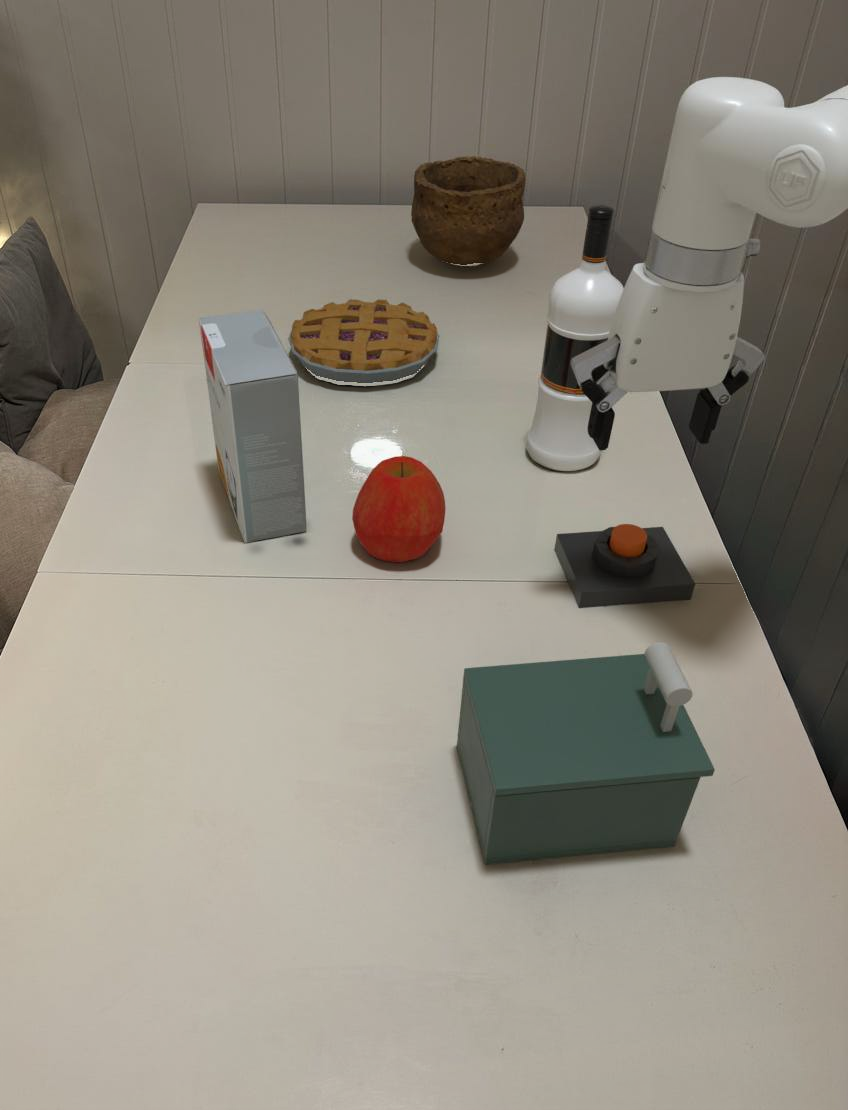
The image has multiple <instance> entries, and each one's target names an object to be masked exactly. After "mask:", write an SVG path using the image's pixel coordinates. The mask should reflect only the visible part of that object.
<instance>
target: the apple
mask: <svg viewBox="0 0 848 1110" xmlns="http://www.w3.org/2000/svg"><path fill="white" fill-rule="evenodd" d="M446 509H447V508H446V499H445V495H444V491H443V488H442V486H441V484H440V482H439V480H438V479H437V477H436V476H435V474H434V473H433V471H431V469H430V468H429V467H428V466H427V465H425V464H424V463H423V462H422V461H421V460H419V459H416V458H414V457H412V456H407V455H399V456H397V455H396V456H393V457H389V458H386V459H383V460H381V461H380V462H379V463H377V464H376V466H375V467H374V468H373V469H372V470H371V471H370V473H369V474H368V476H367V477H366V479H365V481H364V482H363V484H362V486H361V488H360V489H359V491H358V493H357V495H356V499H355V502H354V505H353V508H352V516H351V517H352V518H351V519H352V523H353V528H354V531H355V532H354V533H355V536H356V539H357V540H358V541H359V543H360V544H361V545H362V547H363V548H364V550H365V551H366V552H367V553H368V554H369V555H370V556H371V557H374V558H376V559H379V560H381V561H384V562H394V563H405V562H408V561H412V560H416V559H419V558H421V557H423V555H425V554H426V553H427V552H428V550H429V549H430V548H431V547H432V546H433V544H434V543H435V542H436V540H437V539H438V538H439V536H441V534H442V533H443V529H444V525H445V519H446V518H445V517H446Z"/></svg>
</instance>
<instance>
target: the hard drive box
mask: <svg viewBox="0 0 848 1110" xmlns="http://www.w3.org/2000/svg"><path fill="white" fill-rule="evenodd" d="M197 321H198V325H199V332H200V340H201V347H202V354H203V361H204V368H205V369H204V370H205V377H206V384H207V391H208V399H209V400H208V401H209V408H210V414H211V422H212V423H211V424H212V432H213V438H214V439H213V440H214V445H215V452H216V459H217V467H218V472H219V475H220V478H221V480H222V483H223V484H222V485H223V486H224V490H225V493H226V496H227V498H228V501H229V504H230V506H231V509H232V511H233V515H234V518H235V521H236V523H237V526H238V529H239V532H240V534H241V537H242V540H243V543H245V544H246V543H251V542H257V541H261V540H268V539H273V538H278V537H283V536H289V535H294V534H299V533H304V532H305V533H306V531H307V510H306V493H305V475H304V474H305V473H304V460H303V459H304V457H303V456H304V455H303V442H302V423H301V406H300V389H299V374H298V371H297V369H296V367H295V365H294V363H293V361H292V359H291V358H290V356H289V353H288V352H287V350H286V348H285V347H284V345H283V342H282V341H281V339H280V337H279V335H278V334H277V332H276V331H277V330H276V329H275V327H274V325H273V324H272V321H271V320H270V318H269V316H268V315H267V313H266V312H265V310H264V309H254V310H246V311H238V312H231V313H224V314H223V313H222V314H216V315H209V316H202V317H199V318H197Z"/></svg>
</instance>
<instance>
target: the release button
mask: <svg viewBox="0 0 848 1110" xmlns="http://www.w3.org/2000/svg"><path fill="white" fill-rule="evenodd" d="M614 527H615V528H614V529H613V530H612V534H611V539H610V543H609V547H610V549H611V550H612V551H613V552H614V553H616V554H617V555H621V556H625V557H638V556H640V555H641V554H642V553H643V552H644V549H645V545H646V541H647V533H646V532H645V531H644V530H643V529H642V528H643V527H640V526H639V525H635V524H633V523H632V524H631V523H622V524H618V525H616V526H614Z"/></svg>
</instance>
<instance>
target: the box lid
mask: <svg viewBox="0 0 848 1110" xmlns="http://www.w3.org/2000/svg"><path fill="white" fill-rule="evenodd" d="M463 676H464V678H465V682H466V685H467V689H468V693H469V697H470V701H471V704H472V708H473V712H474V716H475V720H476V724H477V727H478V731H479V735H480V739H481V743H482V747H483V750H484V754H485V758H486V762H487V766H488V770H489V773H490V777H491V781H492V785H493V789H494V793H495V795H496V796H499V795H509V794H520V793H531V792H542V791H553V790H564V789H575V788H586V787H597V786H608V785H619V784H630V783H640V782H651V781H662V780H673V779H684V778H695V777H700V778H704V777H705V778H706V777H712V776H714V773H715V771H716V770H715V767H714V765H713V763H712V761H711V759H710V756H709V755H708V752H707V750H706V748H705V746H704V744H703V742H702V739H701V738H700V736H699V733H698V732H697V730H696V727H695V725H694V724H693V721H692V720H691V717H690V715H689V713H688V711H687V708H686V707H685V706H684V705H686V704H687V703H688V702H690V701H691V700H692V698H693V691H692V690H693V689H691V688H692V687H690V684H689V682H688V680H687V679H686V676H685V674H684V672H683V670H682V668H681V667H680V665H679V662H678V660H677V658H676V657H675V654H674V653H673V650H672V649H671V646H670V644H668V643H667V642H664V641H658V642H654V643H651V644H650V645H649V646H648V647H647V648H646V649H645V651H644V653H638V654H625V655H613V656H612V655H611V656H601V657H600V656H599V657H588V658H574V659H563V660H552V661H551V660H550V661H539V662H537V661H536V662H526V663H513V664H501V665H488V666H487V665H486V666H475V667H465V668H464V669H463Z"/></svg>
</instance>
